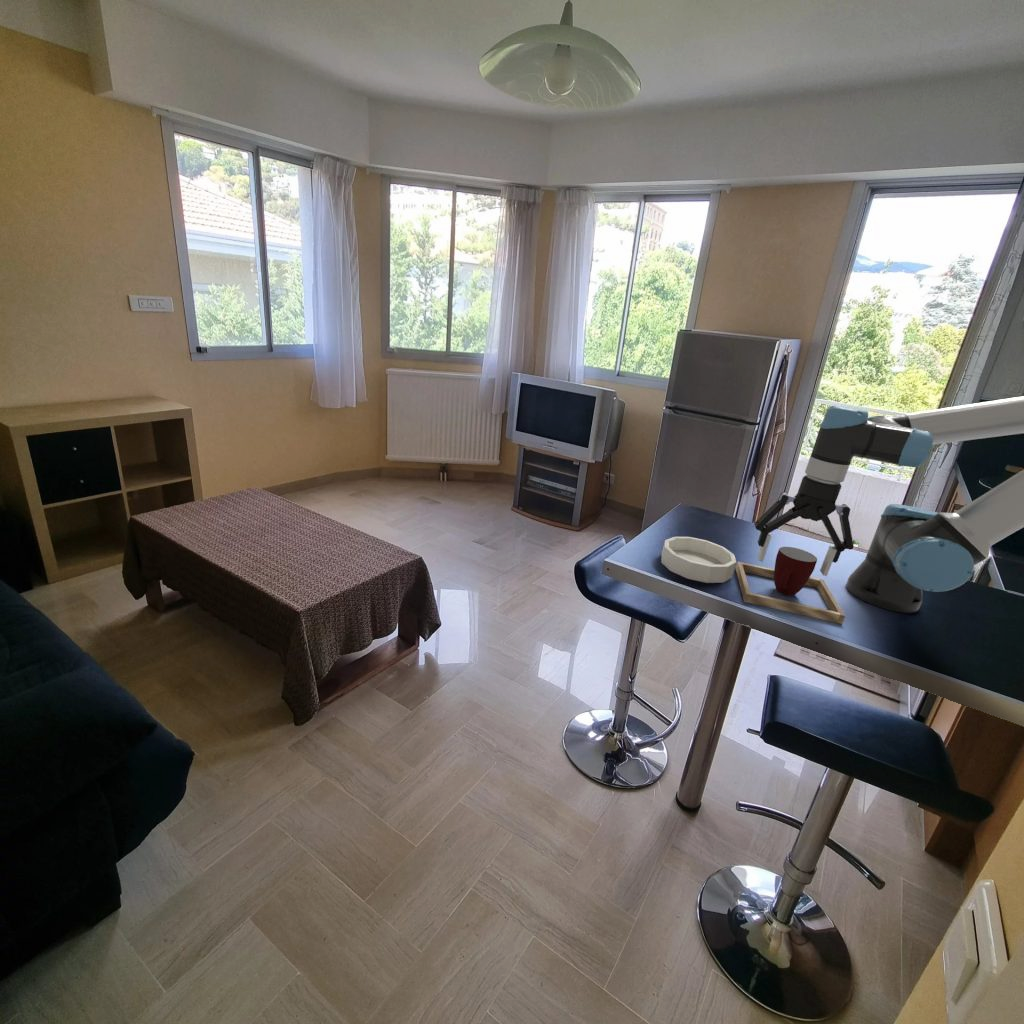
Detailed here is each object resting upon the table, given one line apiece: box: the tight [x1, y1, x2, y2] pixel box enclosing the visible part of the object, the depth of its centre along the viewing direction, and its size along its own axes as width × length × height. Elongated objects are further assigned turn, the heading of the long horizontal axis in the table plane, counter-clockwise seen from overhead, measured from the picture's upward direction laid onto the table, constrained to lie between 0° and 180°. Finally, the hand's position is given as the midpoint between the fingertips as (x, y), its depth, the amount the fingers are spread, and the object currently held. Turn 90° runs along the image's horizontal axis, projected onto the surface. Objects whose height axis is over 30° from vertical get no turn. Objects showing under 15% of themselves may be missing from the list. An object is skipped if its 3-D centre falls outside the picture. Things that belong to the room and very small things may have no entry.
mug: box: [773, 546, 818, 597], centre depth 120 cm, size 10×8×10 cm
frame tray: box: [734, 561, 846, 625], centre depth 121 cm, size 20×18×2 cm
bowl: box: [660, 536, 737, 584], centre depth 130 cm, size 17×17×4 cm
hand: (791, 566), depth 119 cm, fingers open, 13 cm apart
